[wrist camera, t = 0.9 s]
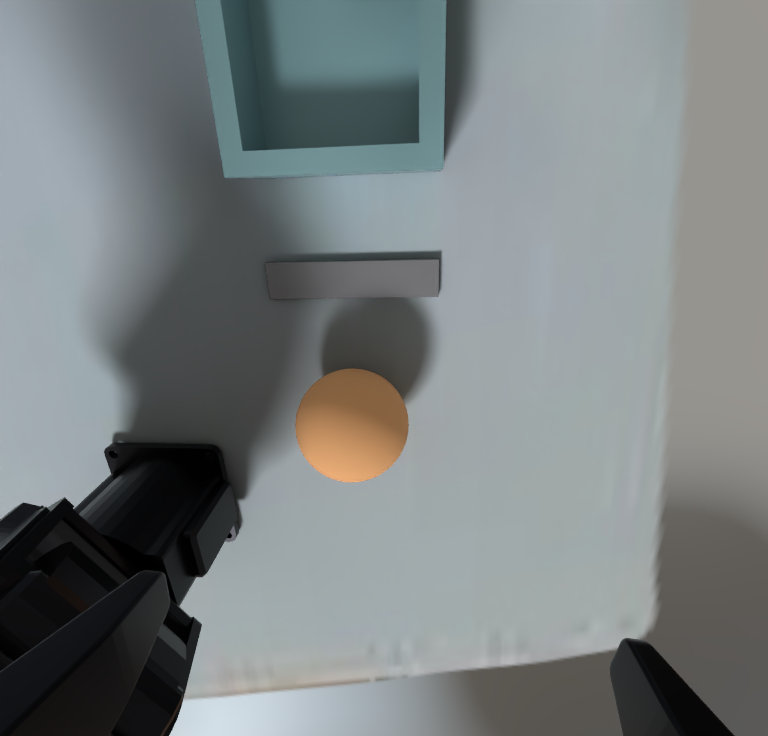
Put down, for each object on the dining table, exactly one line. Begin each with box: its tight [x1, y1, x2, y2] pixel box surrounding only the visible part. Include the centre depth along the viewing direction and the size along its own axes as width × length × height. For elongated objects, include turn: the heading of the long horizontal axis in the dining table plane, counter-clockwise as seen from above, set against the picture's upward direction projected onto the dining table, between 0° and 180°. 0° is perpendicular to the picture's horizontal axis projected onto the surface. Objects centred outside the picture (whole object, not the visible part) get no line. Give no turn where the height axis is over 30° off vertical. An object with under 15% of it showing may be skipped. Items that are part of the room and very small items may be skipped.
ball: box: [295, 368, 409, 482], centre depth 19 cm, size 5×5×5 cm
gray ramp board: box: [265, 258, 439, 299], centre depth 19 cm, size 8×2×1 cm, turn 92°
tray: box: [195, 0, 446, 179], centre depth 14 cm, size 8×10×3 cm
